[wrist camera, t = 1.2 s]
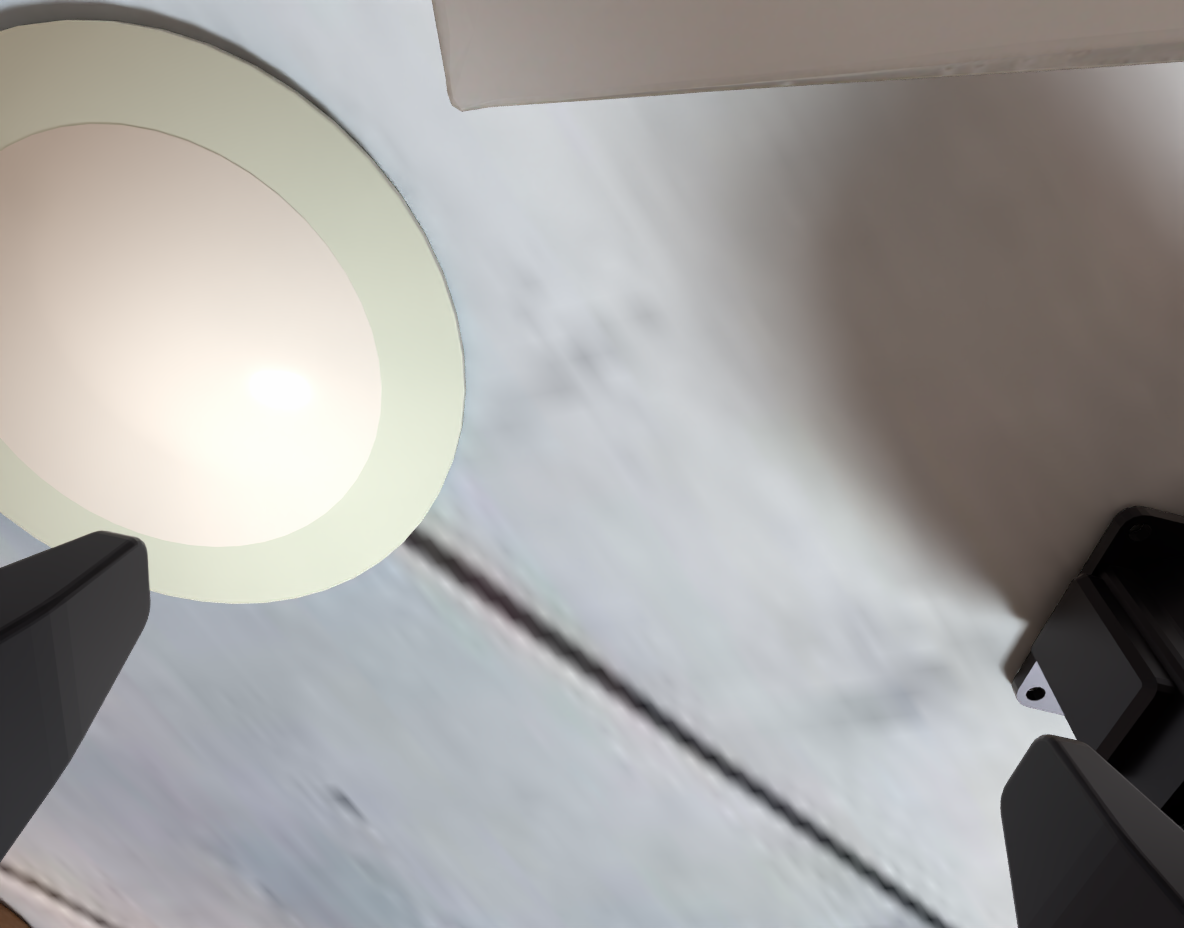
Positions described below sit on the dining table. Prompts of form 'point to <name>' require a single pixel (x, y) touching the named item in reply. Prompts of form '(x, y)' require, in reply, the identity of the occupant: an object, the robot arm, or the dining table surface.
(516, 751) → the dining table surface
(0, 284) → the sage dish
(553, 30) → the supplement box
